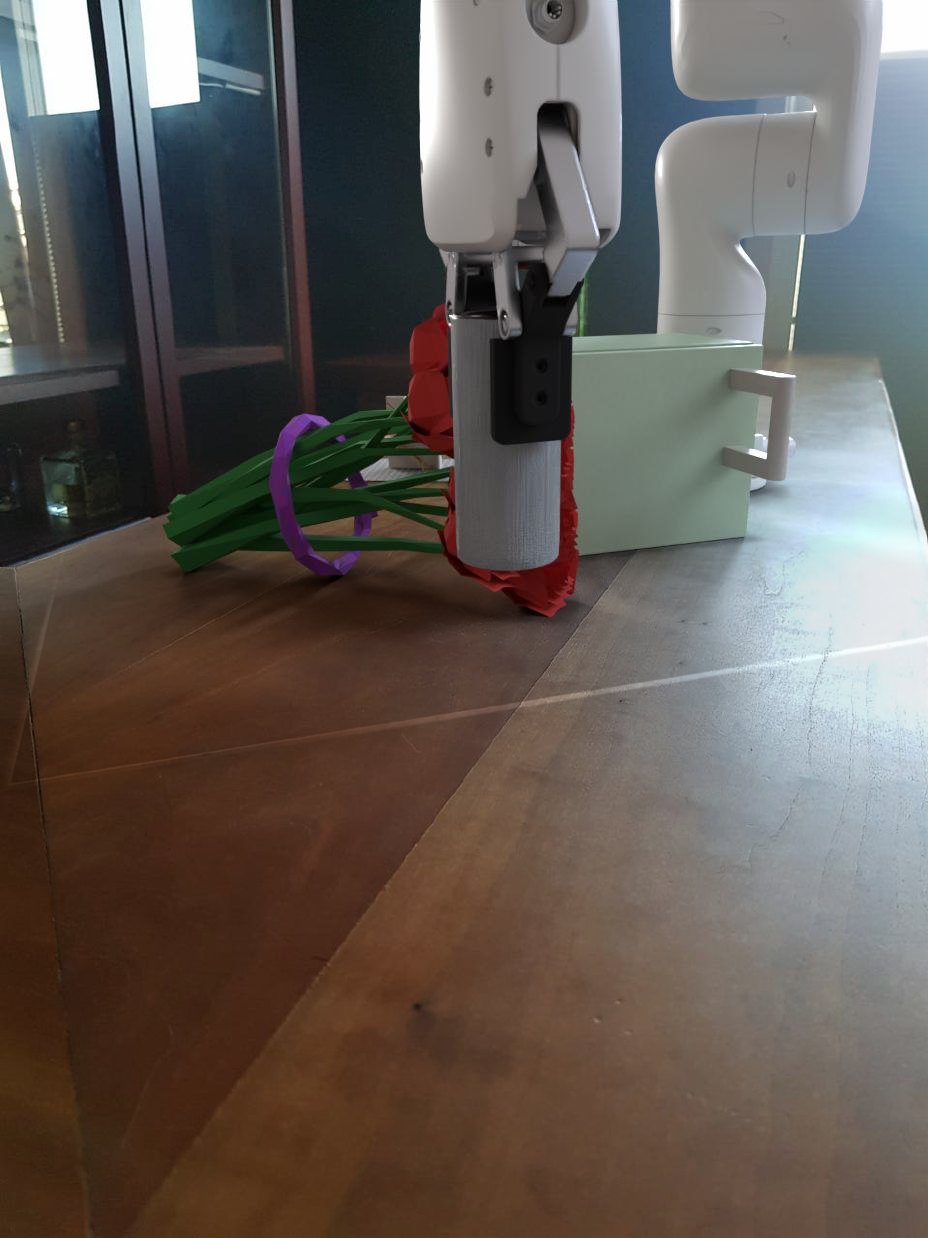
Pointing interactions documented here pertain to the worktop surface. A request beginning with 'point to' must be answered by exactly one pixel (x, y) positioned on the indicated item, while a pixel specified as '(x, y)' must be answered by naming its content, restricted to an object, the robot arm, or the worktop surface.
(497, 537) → the planter
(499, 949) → the worktop surface
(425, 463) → the architectural model
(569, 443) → the bouquet
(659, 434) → the door
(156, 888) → the worktop surface
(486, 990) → the worktop surface
